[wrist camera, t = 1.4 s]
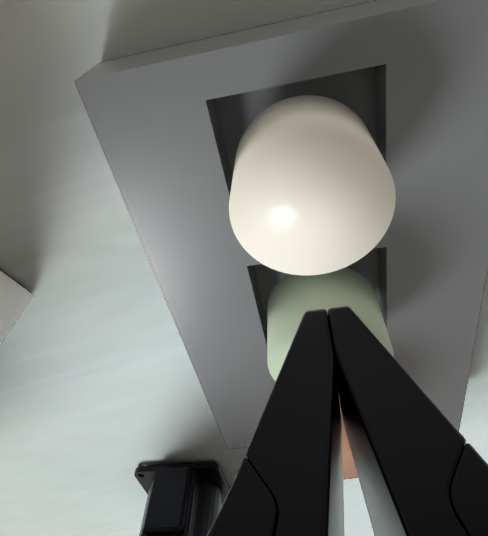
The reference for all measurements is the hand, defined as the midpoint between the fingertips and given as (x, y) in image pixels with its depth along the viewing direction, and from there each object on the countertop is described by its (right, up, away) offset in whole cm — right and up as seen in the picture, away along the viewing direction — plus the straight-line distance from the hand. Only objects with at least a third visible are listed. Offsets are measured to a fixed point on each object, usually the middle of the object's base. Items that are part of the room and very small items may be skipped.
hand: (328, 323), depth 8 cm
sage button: (+2, -1, +10) cm, 10 cm away
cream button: (0, +4, +6) cm, 7 cm away
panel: (+2, +1, +12) cm, 12 cm away
